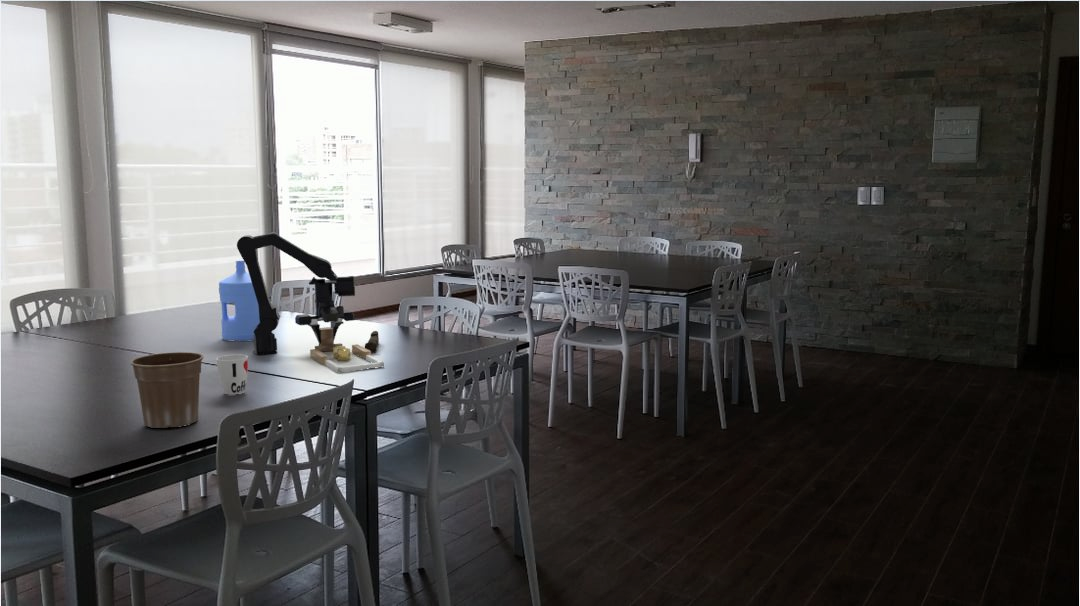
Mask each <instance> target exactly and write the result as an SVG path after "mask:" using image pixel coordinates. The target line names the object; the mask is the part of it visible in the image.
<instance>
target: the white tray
mask: <svg viewBox="0 0 1080 606" xmlns="http://www.w3.org/2000/svg"><path fill="white" fill-rule="evenodd" d="M365 360H366V361H367V360H368V361H367V362H369V361H370V362H369V363H363V364H353V365H346V366H340V365H338V364H336V363H335V362H333V360H330V359H328V360H325V363H326V364H325V366H327V367H328V368H330V369H332V370H333V372H336V373H338V374H342V373H348V372H349V373H350V371H351V372H356V371H355V370H359V371H362V370H361V369H367V368H375V367H382V366H384V367H385V363H384V361H381V360H380V359H378V358H376V357H374V356H372V354H371V355H366V359H365ZM371 362H372V363H371ZM375 369H376V368H375ZM367 370H368V369H367Z"/></svg>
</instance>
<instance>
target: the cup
mask: <svg viewBox="0 0 1080 606" xmlns="http://www.w3.org/2000/svg"><path fill="white" fill-rule="evenodd" d="M248 361H249V360H248V355H247V354H240V353H239V354H225V355H221V356H218V357H216V367H217V375H218V378H219V381H220V387H221V388H222V391H223V393H225V394H229V395H228V396H236V395H235V394H239V395H242V393H243V394H244V393H245V390H246V386H247V380H248V372H249V369H248V367H249V365H248ZM225 394H224V395H225ZM233 394H234V395H233Z"/></svg>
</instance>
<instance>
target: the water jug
mask: <svg viewBox="0 0 1080 606" xmlns="http://www.w3.org/2000/svg"><path fill="white" fill-rule="evenodd" d="M235 264H236V265H235V269H236V270H235V273H233V274H231V275H229V276H227V277H225V278H223V279H222V280H220V281H219V282H218V293H219V302H220V303H221V315H222V316H221V320H220V321H221V338H222V340H224V339H225V340H224V341H226V340H234V341H242V342H249V341H248V340H253V341H254V335H255V334H254V330H255V328H256V326H257V325H258V324H259V323H260V320H259V306H258V302H257V299H256V295H255V292H254V288H253V285H252V282H251V278H250V275H249V272H247V271H246V263H245V262H244V260H236V261H235ZM227 303H229V304H230V303H231V304H234V311H235V312H234V313H235V314H234V315H233V316H228V306H227V305H228V304H227ZM246 340H247V341H246Z"/></svg>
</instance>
